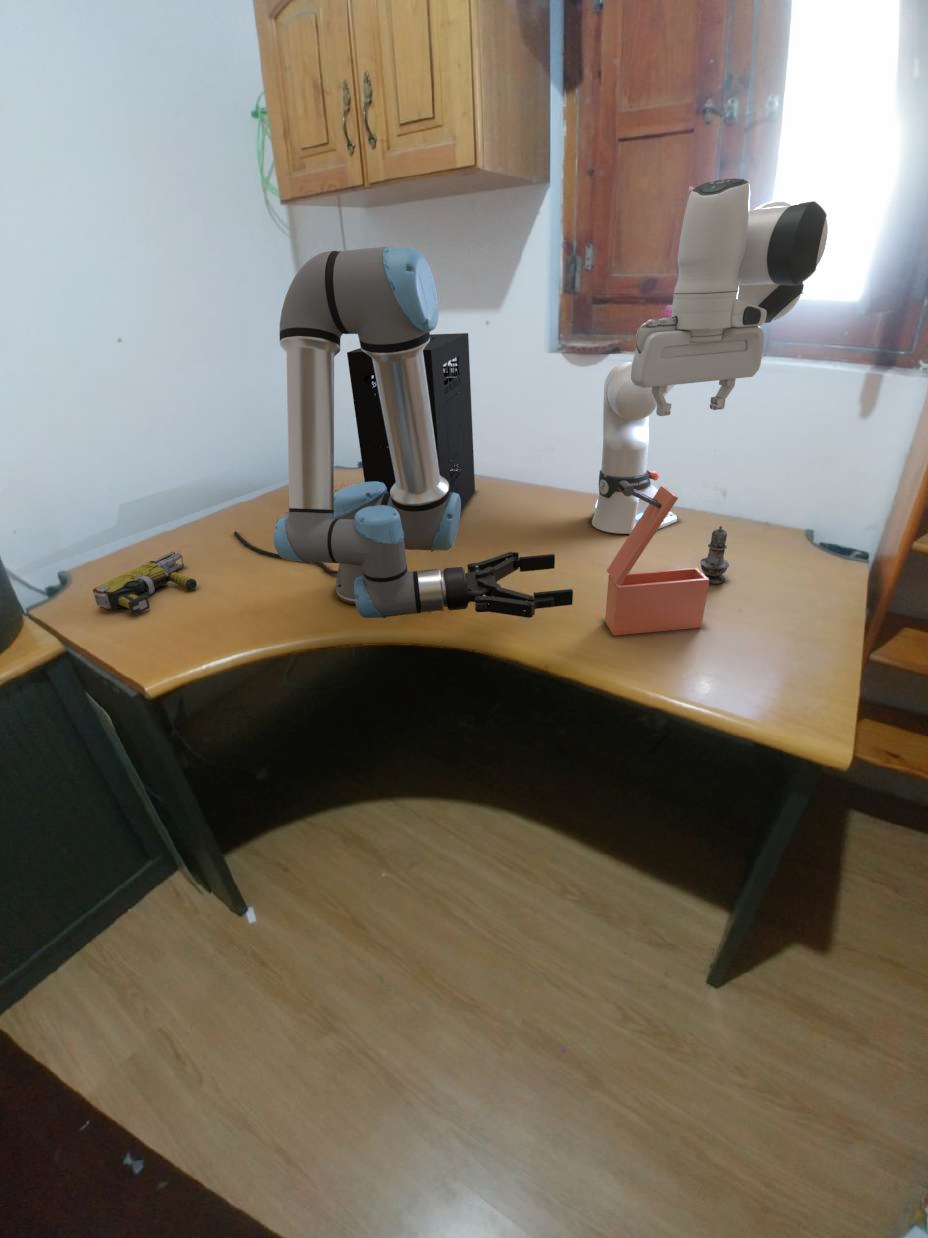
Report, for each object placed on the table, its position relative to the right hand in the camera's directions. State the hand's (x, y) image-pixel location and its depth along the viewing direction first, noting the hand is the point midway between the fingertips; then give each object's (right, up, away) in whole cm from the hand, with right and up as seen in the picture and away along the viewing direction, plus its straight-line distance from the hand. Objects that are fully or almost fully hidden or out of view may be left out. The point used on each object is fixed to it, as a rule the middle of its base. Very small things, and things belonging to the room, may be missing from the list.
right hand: (690, 412), depth 95 cm
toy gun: (-105, -26, +43) cm, 117 cm away
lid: (-4, -18, +10) cm, 22 cm away
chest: (0, -34, +19) cm, 39 cm away
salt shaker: (+18, -24, +34) cm, 46 cm away
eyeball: (-84, -10, +70) cm, 109 cm away
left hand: (-18, -25, +12) cm, 33 cm away
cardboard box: (-46, -2, +80) cm, 93 cm away
